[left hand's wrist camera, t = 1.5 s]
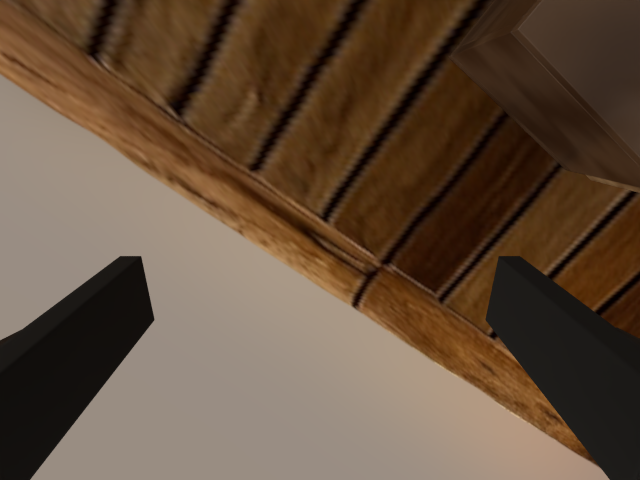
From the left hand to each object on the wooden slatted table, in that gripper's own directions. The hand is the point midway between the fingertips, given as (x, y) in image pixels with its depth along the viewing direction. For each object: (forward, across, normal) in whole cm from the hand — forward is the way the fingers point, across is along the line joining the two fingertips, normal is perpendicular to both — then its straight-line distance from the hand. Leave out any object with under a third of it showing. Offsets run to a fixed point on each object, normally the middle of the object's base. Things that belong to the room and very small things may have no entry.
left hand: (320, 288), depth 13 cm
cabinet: (+23, +21, +10) cm, 33 cm away
